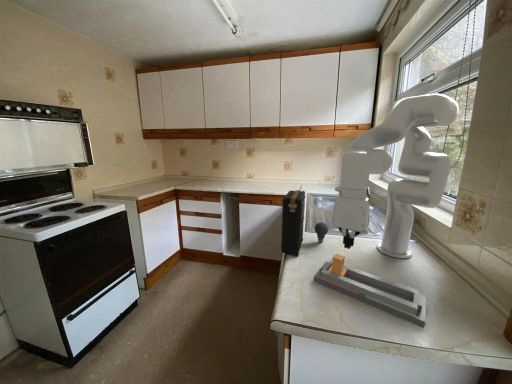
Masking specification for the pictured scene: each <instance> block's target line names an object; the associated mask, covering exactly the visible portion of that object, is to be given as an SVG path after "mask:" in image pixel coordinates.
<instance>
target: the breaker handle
mask: <svg viewBox="0 0 512 384" xmlns="http://www.w3.org/2000/svg"><path fill="white" fill-rule="evenodd" d="M345 257H346V256H344V255H342V254H339V253H335V254H334V255H333V256H332V266H331V267H330V268H329V269H328V271H330V272H332V273H335V274H338V275H340V276H343V277H345V276H346V274H347V269H344V265H345V259H346V258H345Z"/></svg>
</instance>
